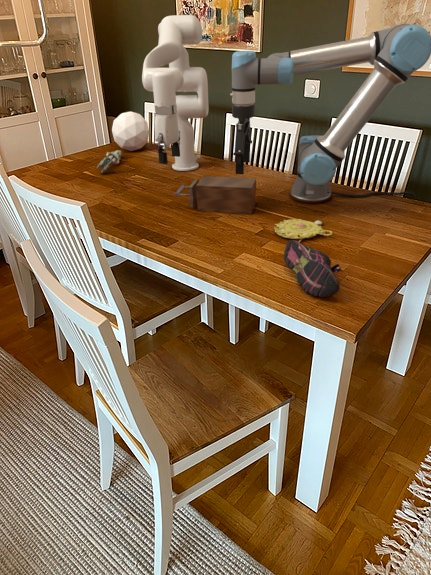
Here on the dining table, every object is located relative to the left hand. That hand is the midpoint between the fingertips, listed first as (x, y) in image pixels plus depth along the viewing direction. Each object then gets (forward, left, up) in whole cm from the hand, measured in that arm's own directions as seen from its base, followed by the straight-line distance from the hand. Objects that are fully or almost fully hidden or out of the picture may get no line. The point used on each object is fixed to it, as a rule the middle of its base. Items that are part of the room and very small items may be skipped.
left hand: (169, 159), depth 162 cm
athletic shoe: (+21, +70, -17) cm, 75 cm away
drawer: (-5, +14, -16) cm, 22 cm away
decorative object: (-3, +53, -17) cm, 56 cm away
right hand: (-11, +25, -2) cm, 27 cm away
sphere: (-47, -69, -17) cm, 85 cm away
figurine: (-21, -58, -17) cm, 64 cm away
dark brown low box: (-8, +20, -17) cm, 27 cm away
